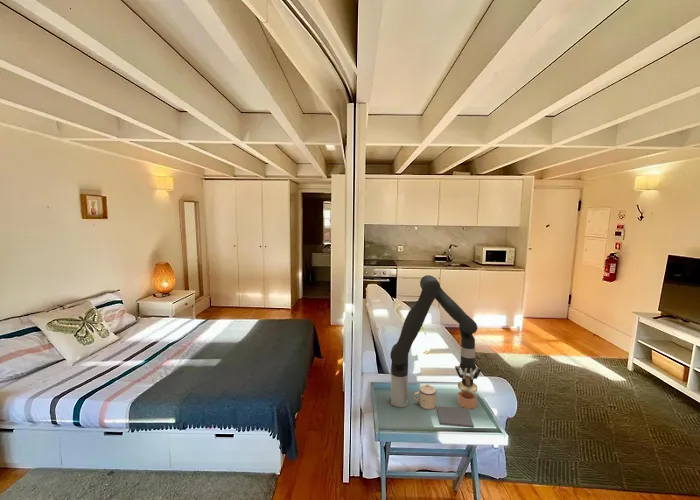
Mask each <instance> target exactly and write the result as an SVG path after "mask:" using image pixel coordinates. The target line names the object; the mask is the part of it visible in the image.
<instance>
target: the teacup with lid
mask: <svg viewBox="0 0 700 500" xmlns="http://www.w3.org/2000/svg"><path fill="white" fill-rule="evenodd" d="M418 394H419V398H417V397H416V395H418ZM413 397H414V399H415V400H416V401H417V402H419V405H420V407H422V409H425V410H433V409H435V408H437V402H436V401H437V389H436V388H435V386H432V385H430V384H429V383H426V384H423V385H421V386H419V391H415V392H414V394H413Z"/></svg>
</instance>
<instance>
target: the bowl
mask: <svg viewBox="0 0 700 500" xmlns="http://www.w3.org/2000/svg"><path fill="white" fill-rule="evenodd" d="M477 401H478V397H477V395H476V393H475V392H472V393H470V392H464V391H462V390H460V391H459V392H457V404H458V406H459V407H460V408H468V410H474V409H475V408H477V407H478V405H477V404H478V402H477Z"/></svg>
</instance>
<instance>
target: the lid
mask: <svg viewBox="0 0 700 500" xmlns="http://www.w3.org/2000/svg"><path fill="white" fill-rule="evenodd" d="M470 381H471V377H470V375H468V374H466V376H465V386H464V385H463V384H462V380H461V381H458V383H457V387H458V389H459V390H460V391H464V392H470V393H475V392H477V391H478V385H477V384H476V383H475V382H473V385H472V386H470Z"/></svg>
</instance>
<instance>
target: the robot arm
mask: <svg viewBox="0 0 700 500" xmlns="http://www.w3.org/2000/svg"><path fill="white" fill-rule="evenodd" d="M438 280H439V279H437V278H436V277H434V276H433V275H426V274H425V275H424V276H423V277H422V278H421V279H420V282H419V286H420V288H421V291H420V295H419V298H418V299H417V300H416V303H415V304H414V305H413V306H412V307H411V308H410V309H409V311H408V313H407V315H406V318H405V319H404V322H403V325H402V327H401V331H400V335H399V338H398V340H397V342H396V343H395V344H393V346H392V348H391V350H390V360H391V365H390V366H391V367H390V378H391V379H390V384H391V385H390V406H393V407H396V408H404V407H407V406H408V403H409V383H408V382H409V379H408V378H409V353H410V351H411V348H412V345H413V343H414V341H415V340H416V338H417V337H418V334H419V333H420V330H421V329H422V327H423V324H424V322H425V320H426V317H427V316H428V313H429V311H430V308H431V306H432V305H433V303H434V302H435V301H434V300H436V301H437V303H439V305H440V306H441V307H442V308H443V310H444V311H445V312H446V313H447V314H448V315H449V317H451V318H452V319H453V320H454V322H456V323H458V327H459V333H460V334H459V335H460V339H461V341H460V352H459V354H460V362H459V365H458V366H457V365H455V366H454V369H455V371H456V373H457V376H458V377H459V379H461V381H462V384H463V385H464V386H465V376H466V375H467V374H469V376H470V377H471V381H470V386H472V385H473V383H474V380H475V379H476V380H477V379H478V377H479V376H480V374H481V371H482V369H481V368H480V367H479V366H477V365H476V339H475V337H474V335H473V334H475V333H476V332H477V331H478V325H477V323H476V321H475V320H474V319H472V318H471V317H470V316H469V315H468V314H467V313H466V312H465V311H464V310H463V308H462V307H460V306H459V305H458V303H457V302H455V301H454V299H452V298H451V297H450V296H449V295H448V294H447V293H446V292H445V291H444V289H443V288H442V286H441V283H440V282H439V281H438ZM461 370H462V373H461V372H460V371H461Z"/></svg>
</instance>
